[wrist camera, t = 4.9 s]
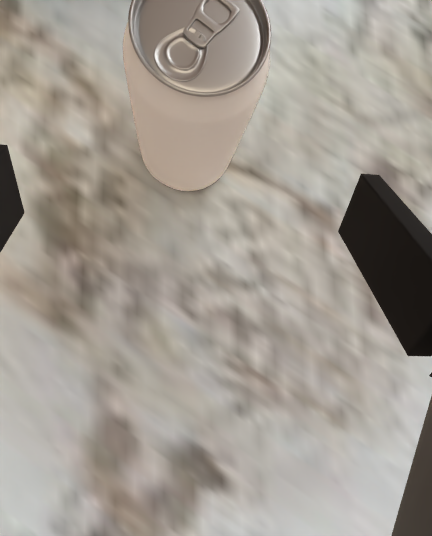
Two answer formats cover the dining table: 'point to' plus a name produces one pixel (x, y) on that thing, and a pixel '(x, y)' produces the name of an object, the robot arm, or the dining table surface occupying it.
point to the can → (194, 83)
